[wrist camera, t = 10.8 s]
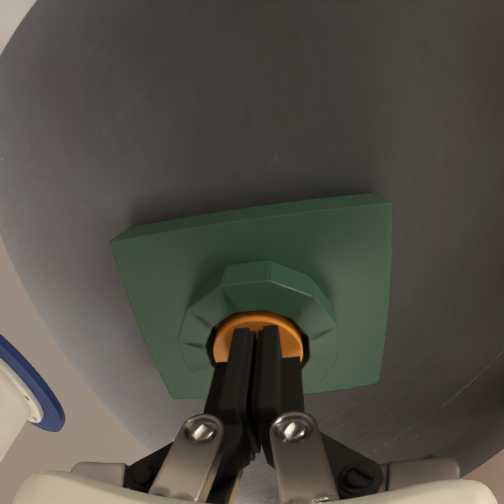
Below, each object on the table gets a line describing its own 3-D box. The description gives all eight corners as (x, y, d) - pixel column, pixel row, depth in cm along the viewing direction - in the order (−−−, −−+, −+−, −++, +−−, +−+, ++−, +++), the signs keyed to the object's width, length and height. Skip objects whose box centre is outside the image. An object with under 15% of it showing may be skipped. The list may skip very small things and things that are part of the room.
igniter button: (228, 362, 14) (223, 387, 12) (211, 300, 12) (202, 323, 11) (302, 356, 13) (305, 382, 12) (296, 291, 12) (300, 314, 10)
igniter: (180, 374, 17) (164, 421, 14) (129, 226, 14) (87, 256, 10) (370, 357, 16) (386, 406, 12) (373, 192, 13) (410, 213, 9)
